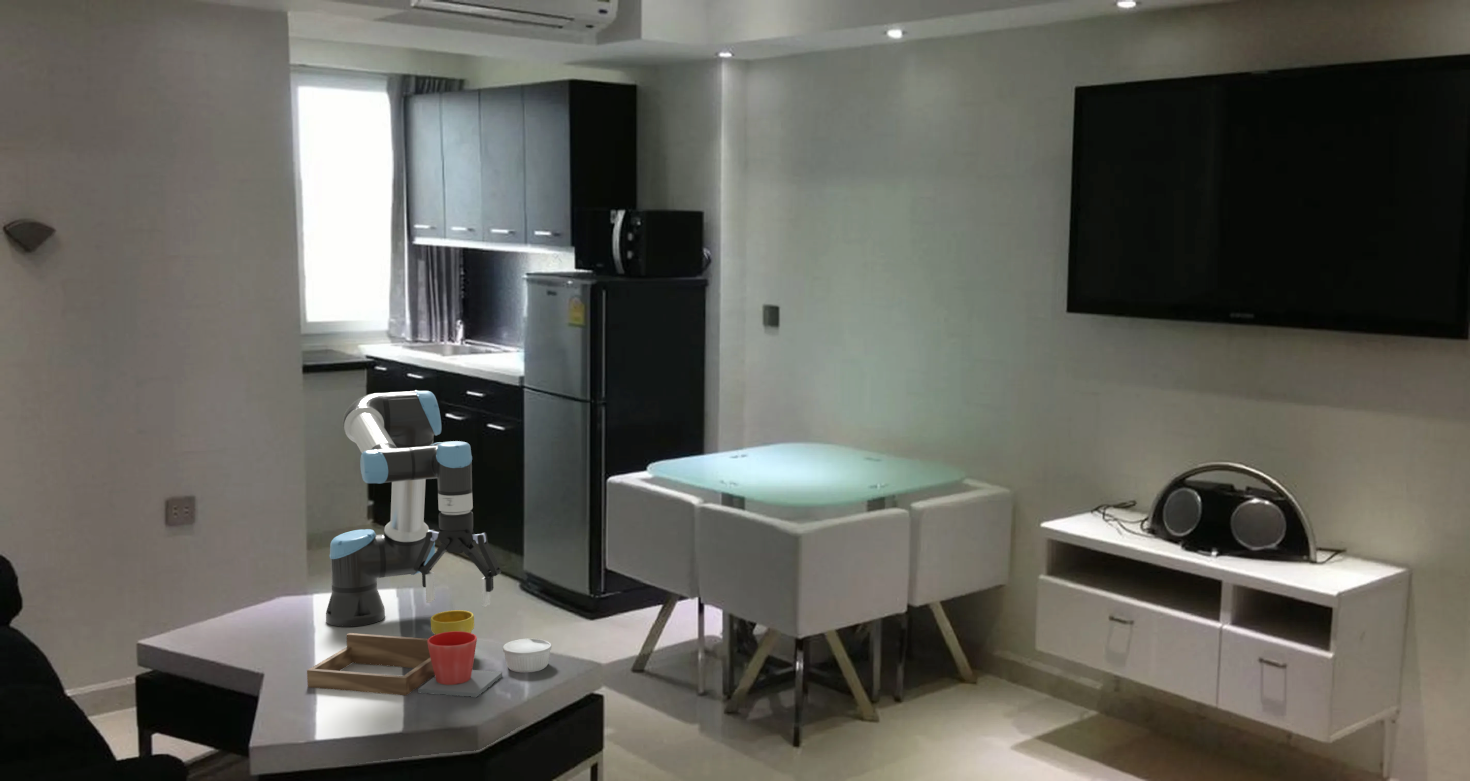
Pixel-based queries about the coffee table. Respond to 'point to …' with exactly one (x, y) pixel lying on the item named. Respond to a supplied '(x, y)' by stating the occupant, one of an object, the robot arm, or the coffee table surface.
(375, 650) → the frame
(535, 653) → the ramekin
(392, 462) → the robot arm
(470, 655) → the flower pot
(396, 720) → the coffee table surface
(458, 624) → the plant pot
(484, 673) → the rubber mat
